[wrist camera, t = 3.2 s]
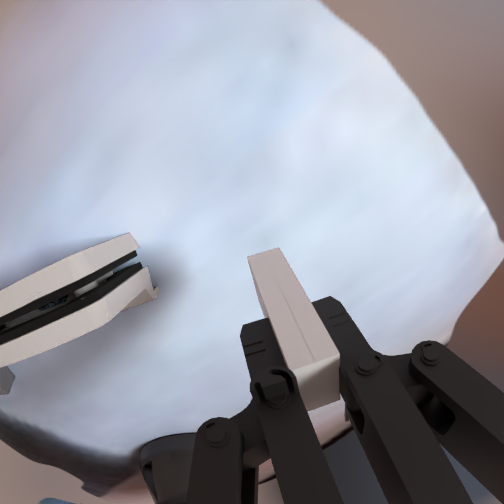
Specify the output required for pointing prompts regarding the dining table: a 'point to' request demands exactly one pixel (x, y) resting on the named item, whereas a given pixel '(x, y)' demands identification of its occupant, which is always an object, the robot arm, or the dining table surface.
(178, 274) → the dining table surface
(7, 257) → the dining table surface
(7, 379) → the bracket
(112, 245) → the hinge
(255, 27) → the dining table surface
